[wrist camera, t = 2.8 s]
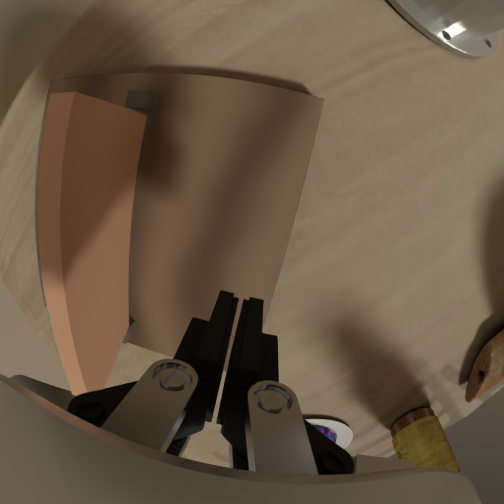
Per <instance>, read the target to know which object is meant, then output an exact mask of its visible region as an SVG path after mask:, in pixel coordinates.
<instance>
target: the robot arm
mask: <svg viewBox="0 0 504 504" xmlns="http://www.w3.org/2000/svg"><path fill="white" fill-rule="evenodd" d="M388 1H389V2H390V3H391V4H392V6H393V7H394V8H395V9H396V10H397V11H398V12H399V13H400V14H401V15H402V16H403V17H404V18H405V19H406V20H407V21H409V22H410V23H411V24H412V25H413V26H414V27H415V28H417V29H418V30H419V31H420V32H422V33H423V34H424V35H426V36H427V37H428V38H429V39H431V40H432V41H434V42H435V43H437V44H439V45H440V46H442V47H443V48H445V49H447V50H449V51H451V52H453V53H455V54H457V55H460V56H463V57H466V58H474V59H475V58H482V57H484V56H487V55H489V54H491V53H492V52H493V51H494V49H495V46H496V43H497V34H496V31H498V30H501V29H504V0H388ZM238 301H239V298H237V297H234V293H232V292H227V291H223V290H220V293H219V296H218V298H217V301H216V304H215V306H214V309H213V312H212V314H211V317H210V320H209V321H207V320H203V319H199V318H195V317H193V318H192V319H191V321H190V323H189V326H188V328H187V330H186V332H185V334H184V336H183V338H182V341H181V343H180V345H179V347H178V349H177V351H176V354H175V356H174V358H173V359H163V360H159V361H157V362H154V363H153V364H152V365H151V366H150V367H149V368H148V369H147V371H146V372H145V373H144V374H143V376H142V377H141V378H140V379H139V380H138V381H135V382H131V383H127V384H123V385H118V386H114V387H110V388H105V389H101V390H96V391H91V392H86V393H83V394H80V395H77V396H75V395H72V392H71V391H68V390H65V389H62V388H58V387H55V386H52V385H49V384H46V383H43V382H41V381H37V380H35V379H32V378H29V377H27V376H23V375H15V376H13V377H11V378H8V377H6V376H4V375H2V374H0V504H481V502H480V500H479V497H478V495H477V493H476V491H475V489H474V487H473V485H472V483H471V482H470V480H469V479H468V478H467V477H466V476H465V475H464V474H462V473H460V472H457V471H454V470H450V469H445V468H438V467H416V466H415V465H414V463H412V462H411V461H409V460H405V459H394V458H384V457H375V456H367V455H360V454H357V455H356V456H355V457H354V456H350V454H349V453H348V452H347V451H346V450H344V449H343V448H342V447H340V446H339V445H337V444H336V443H335V442H333V441H332V440H331V439H329V438H328V437H327V436H325V435H324V434H323V433H322V432H320V431H319V430H318V429H316V428H315V427H314V426H313V425H311V424H310V423H309V422H308V421H306V420H305V419H304V418H303V417H302V413H301V410H300V406H299V403H298V399H297V397H296V395H295V393H294V392H293V391H292V390H291V389H290V388H289V387H287V386H286V385H284V384H282V383H279V373H278V338H277V336H275V335H270V334H265V333H262V325H263V305H264V300H263V299H258V298H254V297H249V300H246V299H243V303H242V307H241V312H240V316H239V320H238V324H237V328H236V332H235V337H234V341H233V345H232V349H231V353H230V358H229V363H228V368H227V373H226V378H225V383H224V388H223V392H222V397H221V402H220V407H219V412H218V417H217V422H216V424H221V425H222V428H221V433H222V435H223V436H224V437H225V438H226V439H227V441H228V442H229V443H230V445H229V459H230V468H227V467H221V466H216V465H211V464H207V463H202V462H198V461H193V460H189V459H185V458H182V457H181V456H182V454H183V452H184V450H185V448H186V446H187V444H188V442H189V440H190V436H191V435H192V434H194V433H197V432H199V431H201V430H202V429H203V428H204V424H205V421H207V422H211V421H212V417H213V412H214V408H215V404H216V399H217V395H218V390H219V386H220V382H221V377H222V373H223V368H224V364H225V360H226V355H227V350H228V346H229V341H230V337H231V332H232V328H233V323H234V319H235V314H236V310H237V305H238Z"/></svg>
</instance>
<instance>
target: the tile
mask: <svg viewBox="0 0 504 504" xmlns="http://www.w3.org/2000/svg"><path fill="white" fill-rule="evenodd" d="M146 119H147V116H146V115H143V114H141V113H138V112H135V111H133V110H130V109H127V108H124V107H121V106H118V105H115V104H113V103H110V102H107V101H103V100H100V99H97V98H94V97H91V96H88V95H84V94H81V93H77V92H64V93H52V94H50V98H49V101H48V104H47V109H46V114H45V119H44V125H43V131H42V138H41V145H40V154H39V165H38V180H37V233H38V248H39V259H40V268H41V276H42V283H43V289H44V295H45V301H46V306H47V311H48V316H49V321H50V325H51V329H52V333H53V337H54V341H55V345H56V348H57V352H58V355H59V358H60V362H61V365H62V368H63V370H64V374H65V376H66V379H67V382H68V385H69V388H70V390H71V392H72V395H75V396H77V395H80V394H83V393H86V392H91V391H96V390H101V389H104V386H105V384H106V381H107V378H108V376H109V373H110V371H111V368H112V366H113V363H114V361H115V358H116V356H117V353H118V351H119V349H120V346H121V344H122V341H123V339H124V337H125V334H126V332H127V330H128V328H129V300H128V282H129V250H130V233H131V220H132V209H133V200H134V191H135V183H136V176H137V169H138V162H139V156H140V150H141V144H142V139H143V134H144V129H145V124H146Z"/></svg>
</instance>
